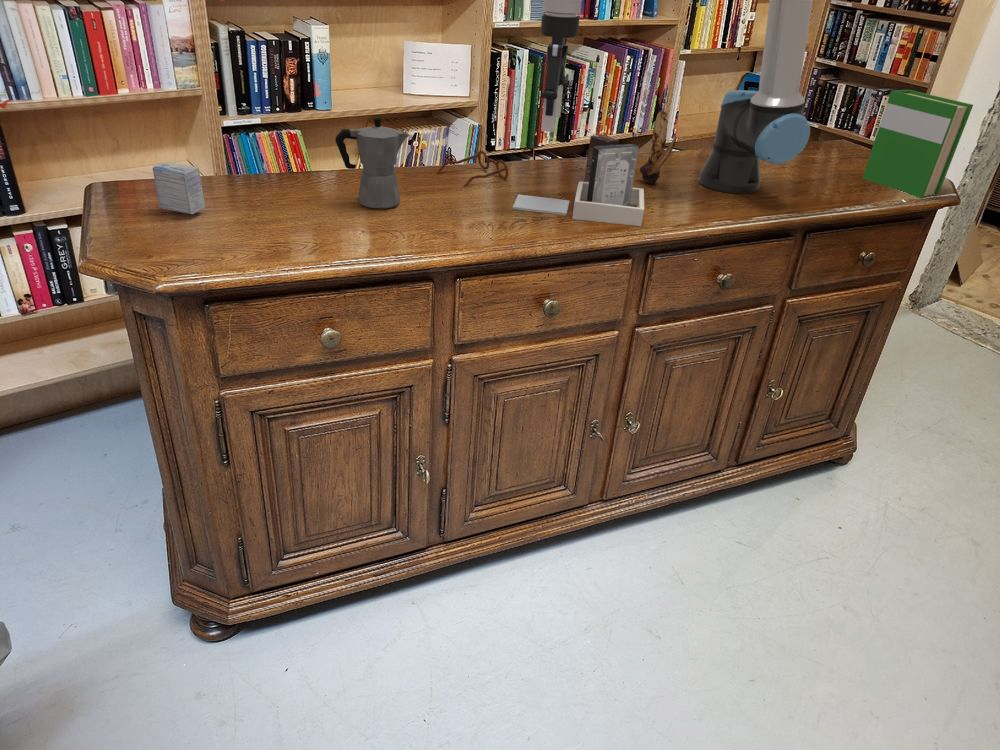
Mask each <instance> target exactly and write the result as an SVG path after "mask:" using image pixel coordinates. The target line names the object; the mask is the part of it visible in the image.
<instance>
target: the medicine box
mask: <svg viewBox="0 0 1000 750" xmlns="http://www.w3.org/2000/svg"><path fill="white" fill-rule="evenodd" d="M152 174H153V178H154V184H155V189H156V194H157V201H158V207H159V209H164V210H168V211H174V212H177V213H182V214H189V215H194V214H196V213H199V212H201V211H202V210H204V209H206V205H205V204H206V203H205V199H204V192H203V186H202V179H201V174H200V167H198V166H193V165H187V164H181V163H176V162H171V161H165V162H160V163H159V164H156V165H154V166H152Z"/></svg>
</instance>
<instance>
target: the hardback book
mask: <svg viewBox="0 0 1000 750" xmlns="http://www.w3.org/2000/svg"><path fill="white" fill-rule="evenodd" d="M887 99H888V100H887V103H886V105H885V109H884V111H883V114H882V118H881V120H880V123H879V126H878V128H877V133H876V136H875V139H874V141H873V145H872V148H871V151H870V154H869V156H868V160H867V161H866V162H867V164H866V166H865V168H864V172H863V175H862V178H863V179H866V180H869V181H872V182H875V183H878V184H881V185H885V186H888V187H891V188H894V189H897V190H900V191H903V192H906V193H908V194H910V195H909V196H911V195H913V196H912V197H914V196H916V197H915V198H917V197H918V199H921V200H922V199H924V196H926V197H928V196H927V195H931V196H933V195H932V194H935V195H938V196H939V195H940V191H941V189H942V187H943V184H944V181H945V178H946V176H947V173H948V171H949V168H950V166H951V163H952V161H953V158H954V156H955V153H956V151H957V148H958V145H959V143H960V140H961V138H962V135H963V132H964V130H965V127H966V125H967V122H968V119H969V118H970V114H971V112H972V110H973V107H974V104H972V103H967V102H962V101H959V100H953V99H950V98H946V97H941V96H939V95H938V96H937V95H934V94H929V93H925V92H921V91H916V90H911V89H901V90H900V89H897V90H890V92H889V96H888V98H887ZM862 178H861V179H862ZM863 179H862V180H863ZM866 180H865V181H866ZM869 181H868V182H869ZM872 182H871V183H872ZM875 183H874V184H875ZM878 184H877V185H878ZM881 185H880V186H881ZM908 194H907V195H908ZM935 195H934V196H935Z"/></svg>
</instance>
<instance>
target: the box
mask: <svg viewBox="0 0 1000 750" xmlns="http://www.w3.org/2000/svg"><path fill="white" fill-rule="evenodd" d="M606 145H620V139H617V138H613V137H610V136H607V135H604V134H594V135H590V138H589V145H588V146H589V147H588V152H587V153H588V154H587V159H586V160H587V161H586V168H585V175H584V181H583V182H589V179H590V171H591V163H592V155H593V148H594V146H606Z"/></svg>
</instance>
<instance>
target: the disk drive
mask: <svg viewBox="0 0 1000 750" xmlns="http://www.w3.org/2000/svg"><path fill="white" fill-rule="evenodd" d="M638 155H639V146H638V145H636V144H632V143H628V144H626V143H625V144H619V145H606V146H594V148H593V155H592V163H591V171H590V179H589V186H588V194H587V200H586V201H587V202H596V203H604V204H613V205H621V206H630V207H631V205H630V200H631V194H632V188H634V187H633V186H634V181H635V174H636V169H637V168H636V167H637V161H638Z"/></svg>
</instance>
